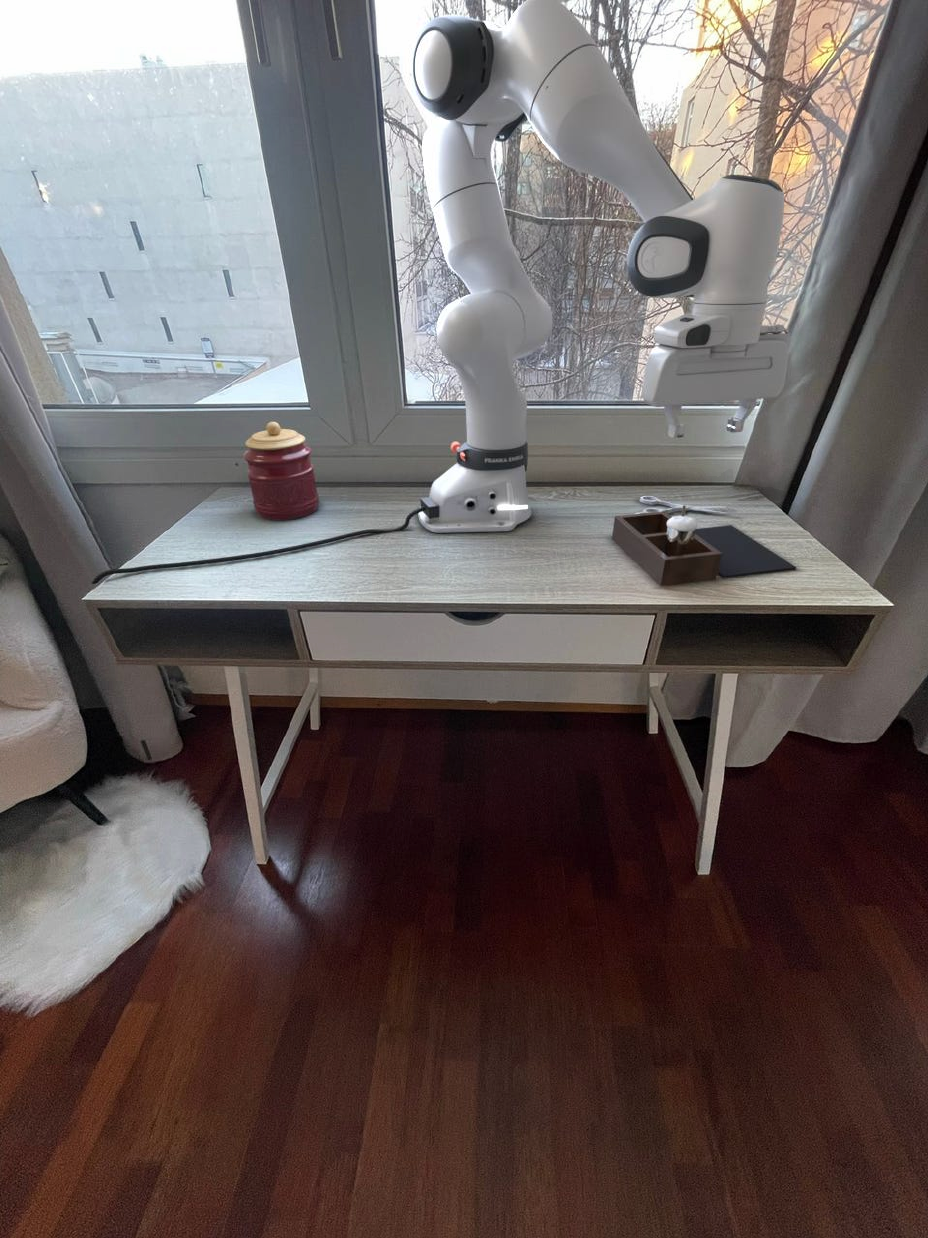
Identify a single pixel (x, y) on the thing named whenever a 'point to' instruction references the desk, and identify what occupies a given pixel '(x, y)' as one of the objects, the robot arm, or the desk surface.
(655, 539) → the caddy
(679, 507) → the scissors
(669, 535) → the milkshake
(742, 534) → the mouse pad
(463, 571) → the desk surface
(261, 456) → the kitchen canister
